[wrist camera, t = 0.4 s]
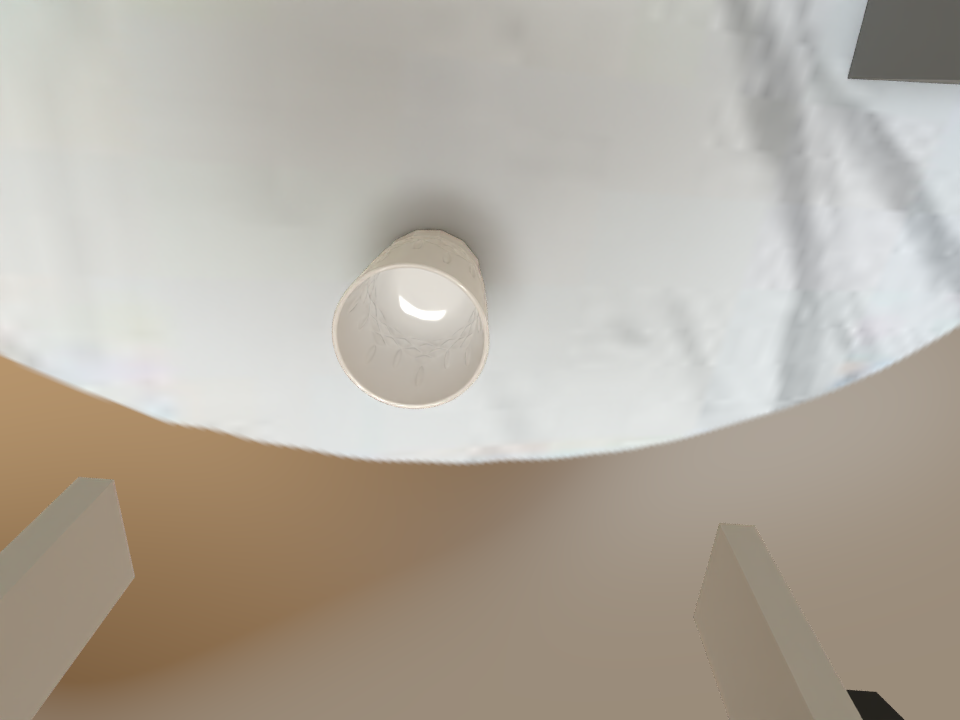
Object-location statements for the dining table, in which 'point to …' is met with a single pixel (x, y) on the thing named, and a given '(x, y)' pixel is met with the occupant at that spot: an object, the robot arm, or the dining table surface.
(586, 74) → the dining table surface
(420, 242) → the white cup
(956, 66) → the dispenser
